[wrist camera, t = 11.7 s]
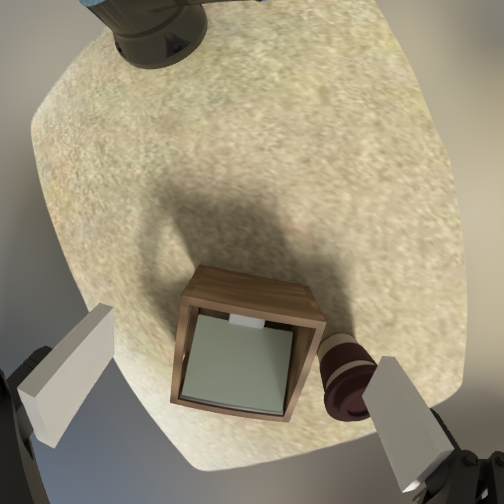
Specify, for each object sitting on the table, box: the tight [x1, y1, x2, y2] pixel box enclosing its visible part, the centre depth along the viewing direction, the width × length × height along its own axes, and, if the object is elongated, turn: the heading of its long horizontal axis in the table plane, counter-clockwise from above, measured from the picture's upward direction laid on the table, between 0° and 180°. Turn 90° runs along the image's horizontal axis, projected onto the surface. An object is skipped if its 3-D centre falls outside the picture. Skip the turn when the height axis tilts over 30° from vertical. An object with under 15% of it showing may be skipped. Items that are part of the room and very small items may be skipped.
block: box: [229, 313, 265, 329], centre depth 43 cm, size 5×5×5 cm
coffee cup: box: [318, 333, 378, 422], centre depth 41 cm, size 10×10×15 cm
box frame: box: [170, 265, 327, 422], centre depth 41 cm, size 17×17×12 cm
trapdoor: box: [180, 314, 293, 415], centre depth 40 cm, size 12×14×1 cm
